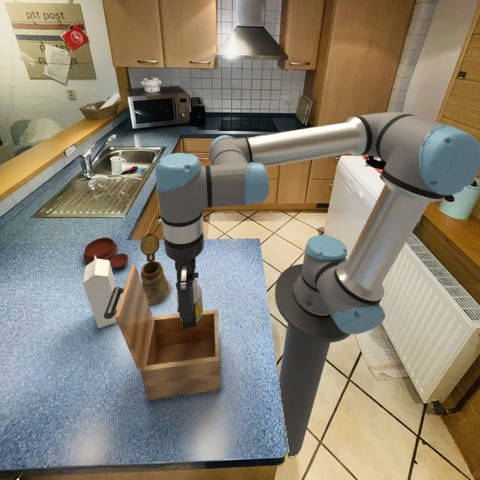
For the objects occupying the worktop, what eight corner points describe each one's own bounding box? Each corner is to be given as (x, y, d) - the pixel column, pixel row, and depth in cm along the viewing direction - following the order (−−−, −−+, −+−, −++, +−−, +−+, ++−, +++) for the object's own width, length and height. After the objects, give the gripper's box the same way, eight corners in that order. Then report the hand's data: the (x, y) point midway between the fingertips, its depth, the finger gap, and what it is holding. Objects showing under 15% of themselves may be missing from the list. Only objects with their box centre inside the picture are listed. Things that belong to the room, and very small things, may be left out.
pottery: (105, 240, 105) (103, 232, 104) (139, 258, 97) (137, 250, 95) (77, 259, 96) (75, 250, 94) (112, 281, 87) (109, 272, 86)
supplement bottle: (206, 305, 59) (204, 276, 55) (197, 327, 55) (195, 297, 51) (185, 300, 60) (182, 271, 56) (174, 321, 56) (170, 291, 52)
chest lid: (135, 264, 56) (113, 267, 56) (119, 316, 46) (91, 320, 45) (152, 315, 64) (133, 318, 64) (141, 369, 53) (118, 374, 53)
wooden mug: (168, 268, 93) (163, 229, 86) (170, 300, 81) (164, 259, 74) (142, 273, 90) (135, 234, 83) (141, 308, 79) (132, 265, 71)
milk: (120, 304, 80) (107, 251, 71) (120, 321, 75) (106, 267, 66) (99, 310, 78) (83, 257, 69) (97, 329, 72) (79, 274, 64)
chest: (218, 337, 71) (217, 309, 66) (220, 389, 60) (220, 360, 55) (156, 344, 69) (151, 316, 64) (147, 400, 58) (140, 371, 53)
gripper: (169, 205, 56) (178, 280, 65) (154, 273, 39) (168, 359, 49) (203, 204, 57) (207, 277, 66) (202, 269, 40) (207, 355, 50)
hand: (190, 312), depth 57 cm, fingers closed on supplement bottle, 5 cm apart
